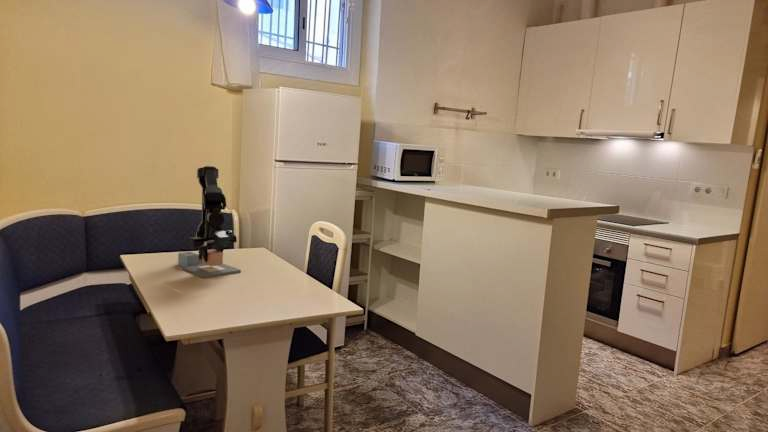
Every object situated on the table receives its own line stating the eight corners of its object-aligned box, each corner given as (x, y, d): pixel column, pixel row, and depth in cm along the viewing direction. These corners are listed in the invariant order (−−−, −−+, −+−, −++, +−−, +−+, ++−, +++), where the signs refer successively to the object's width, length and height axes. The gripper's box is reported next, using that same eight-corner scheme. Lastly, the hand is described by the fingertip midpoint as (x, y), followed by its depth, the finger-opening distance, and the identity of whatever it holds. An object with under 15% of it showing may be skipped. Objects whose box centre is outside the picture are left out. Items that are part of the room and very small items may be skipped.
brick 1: (178, 264, 210) (178, 252, 210) (189, 263, 214) (189, 251, 213) (186, 268, 206) (187, 256, 205) (198, 266, 210) (198, 254, 209)
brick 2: (201, 262, 204) (202, 250, 203) (213, 261, 208) (213, 249, 207) (210, 266, 199) (211, 253, 199) (222, 264, 203) (222, 252, 202)
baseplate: (182, 269, 203) (182, 266, 203) (218, 264, 215) (218, 261, 215) (204, 278, 193) (204, 275, 193) (240, 272, 205) (240, 269, 205)
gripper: (202, 227, 189) (201, 268, 191) (245, 223, 203) (243, 262, 205) (186, 223, 196) (186, 262, 198) (229, 219, 210) (228, 256, 212)
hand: (212, 261), depth 203 cm, fingers closed on brick 2, 5 cm apart
